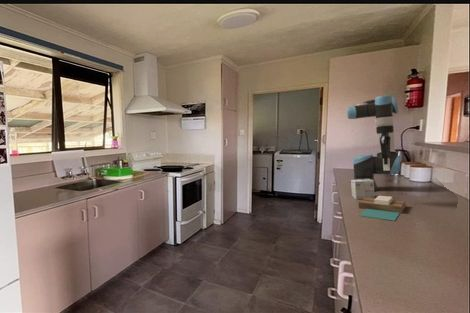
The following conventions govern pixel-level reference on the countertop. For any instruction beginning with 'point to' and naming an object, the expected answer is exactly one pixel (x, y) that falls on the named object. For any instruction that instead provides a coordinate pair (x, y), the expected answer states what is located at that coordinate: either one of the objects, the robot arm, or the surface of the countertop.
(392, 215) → the mat
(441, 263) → the countertop surface
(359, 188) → the light bulb box
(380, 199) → the cream rectangular block
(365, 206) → the brown flat wooden board
